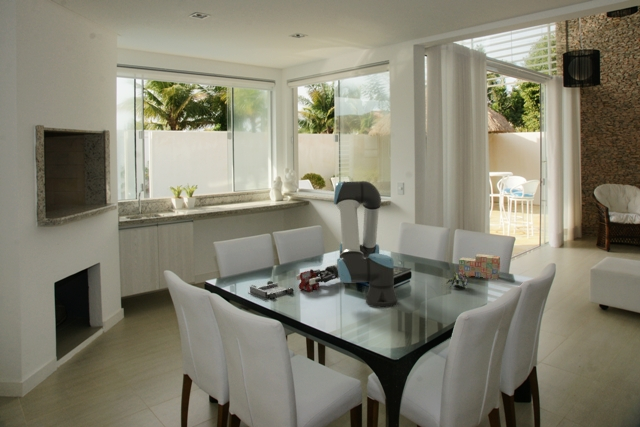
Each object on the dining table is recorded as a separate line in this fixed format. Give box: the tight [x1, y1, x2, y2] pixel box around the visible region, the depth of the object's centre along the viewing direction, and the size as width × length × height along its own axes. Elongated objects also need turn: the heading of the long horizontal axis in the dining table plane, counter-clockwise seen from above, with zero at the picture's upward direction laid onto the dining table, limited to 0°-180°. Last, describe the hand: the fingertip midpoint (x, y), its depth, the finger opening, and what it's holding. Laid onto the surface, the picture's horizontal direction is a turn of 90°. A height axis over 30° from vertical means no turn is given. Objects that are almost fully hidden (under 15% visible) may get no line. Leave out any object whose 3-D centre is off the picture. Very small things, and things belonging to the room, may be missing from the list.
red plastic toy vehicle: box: [298, 269, 320, 293], centre depth 248 cm, size 7×12×10 cm, turn 138°
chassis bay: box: [248, 280, 294, 300], centre depth 244 cm, size 20×18×4 cm
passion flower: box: [445, 269, 470, 290], centre depth 245 cm, size 11×11×12 cm
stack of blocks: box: [458, 253, 501, 280], centre depth 267 cm, size 21×6×12 cm, turn 59°
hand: (303, 279), depth 245 cm, fingers open, 10 cm apart
